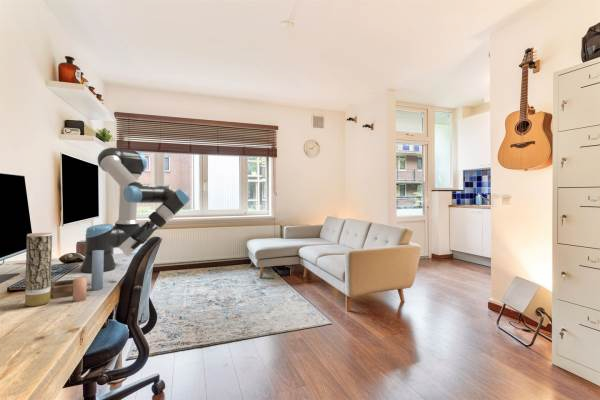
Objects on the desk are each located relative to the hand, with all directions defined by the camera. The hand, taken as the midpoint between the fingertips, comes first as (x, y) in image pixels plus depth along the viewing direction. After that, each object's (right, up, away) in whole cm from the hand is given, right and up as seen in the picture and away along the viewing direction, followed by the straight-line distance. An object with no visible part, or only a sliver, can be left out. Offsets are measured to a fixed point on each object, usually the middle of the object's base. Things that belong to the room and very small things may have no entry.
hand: (122, 251), depth 129 cm
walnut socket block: (-17, -15, -11) cm, 25 cm away
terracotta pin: (-6, -15, -18) cm, 24 cm away
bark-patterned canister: (-17, -15, -23) cm, 32 cm away
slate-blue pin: (-8, -15, -5) cm, 17 cm away
